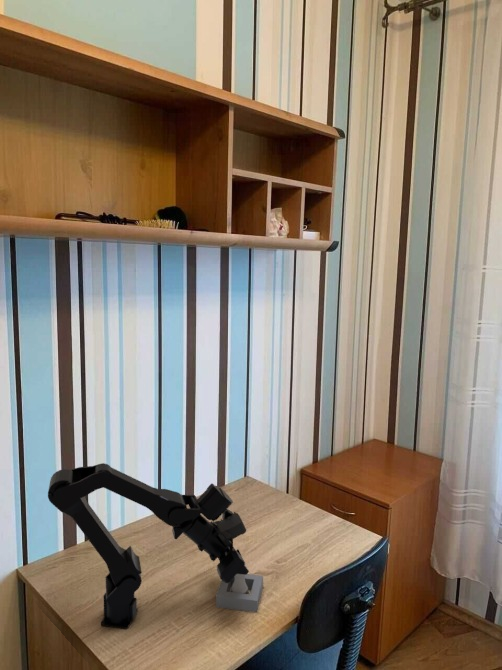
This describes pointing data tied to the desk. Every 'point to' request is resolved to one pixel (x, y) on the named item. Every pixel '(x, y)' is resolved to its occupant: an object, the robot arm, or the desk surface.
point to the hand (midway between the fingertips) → (245, 568)
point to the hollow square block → (240, 594)
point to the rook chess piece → (239, 584)
